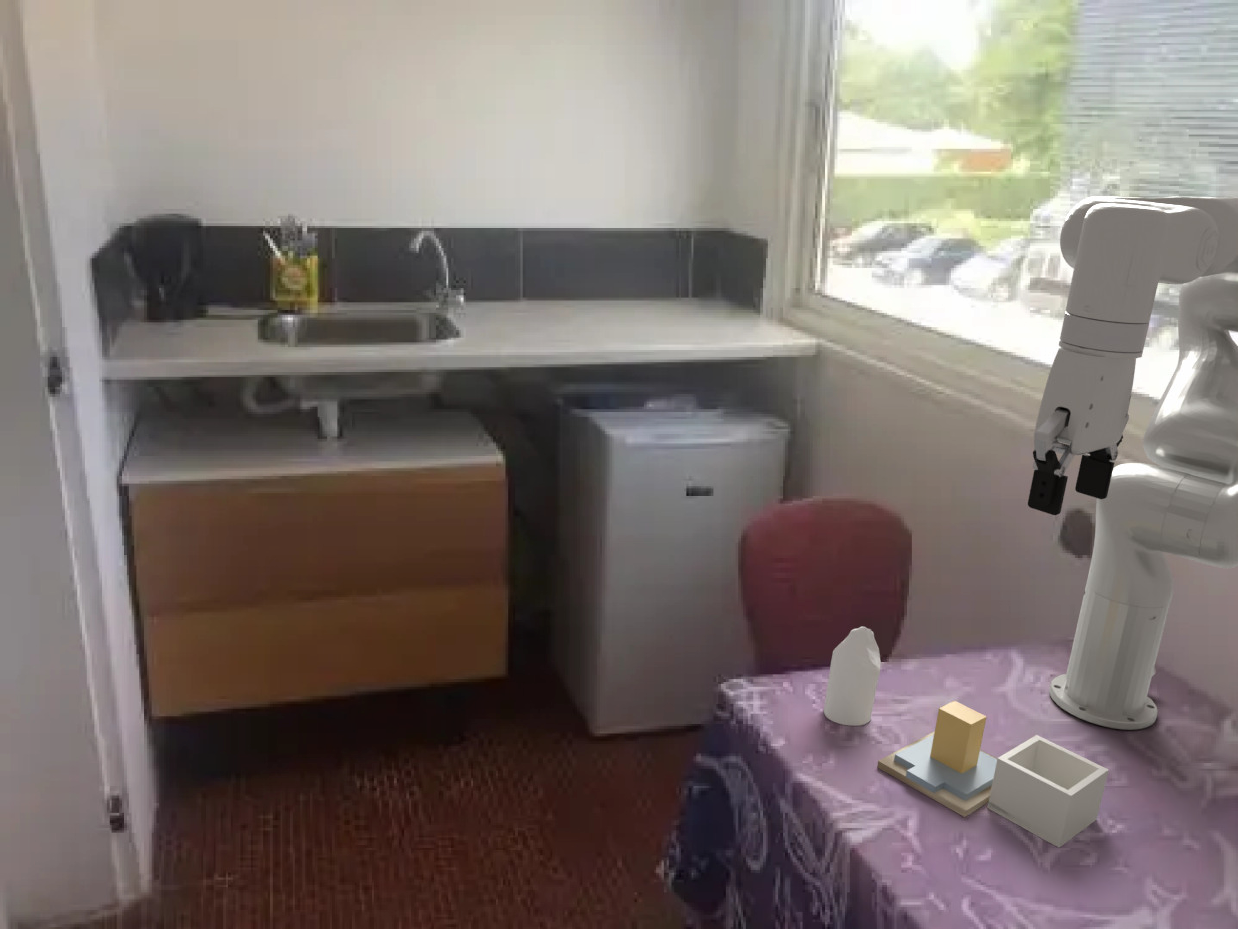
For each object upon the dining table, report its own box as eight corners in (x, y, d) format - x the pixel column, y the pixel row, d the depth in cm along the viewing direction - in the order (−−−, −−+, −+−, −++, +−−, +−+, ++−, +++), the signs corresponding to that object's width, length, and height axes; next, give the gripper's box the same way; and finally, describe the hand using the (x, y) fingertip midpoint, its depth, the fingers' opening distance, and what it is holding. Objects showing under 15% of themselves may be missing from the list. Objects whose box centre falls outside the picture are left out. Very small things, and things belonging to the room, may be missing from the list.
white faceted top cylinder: (866, 610, 130) (898, 630, 125) (852, 699, 133) (882, 722, 129) (826, 617, 127) (857, 638, 122) (813, 708, 131) (842, 731, 126)
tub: (1026, 783, 118) (1036, 735, 117) (1096, 819, 113) (1108, 769, 111) (987, 808, 113) (997, 758, 111) (1059, 847, 108) (1071, 796, 106)
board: (938, 734, 127) (939, 728, 127) (1024, 779, 119) (1025, 773, 119) (877, 767, 119) (878, 760, 119) (964, 817, 111) (966, 810, 111)
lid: (940, 736, 125) (950, 684, 123) (1010, 773, 118) (1022, 719, 116) (885, 765, 118) (894, 710, 116) (956, 806, 112) (967, 748, 110)
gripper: (1106, 323, 112) (1073, 479, 118) (1021, 334, 101) (988, 505, 106) (1180, 337, 107) (1142, 500, 112) (1098, 349, 96) (1060, 529, 101)
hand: (1067, 502), depth 109 cm, fingers open, 9 cm apart
